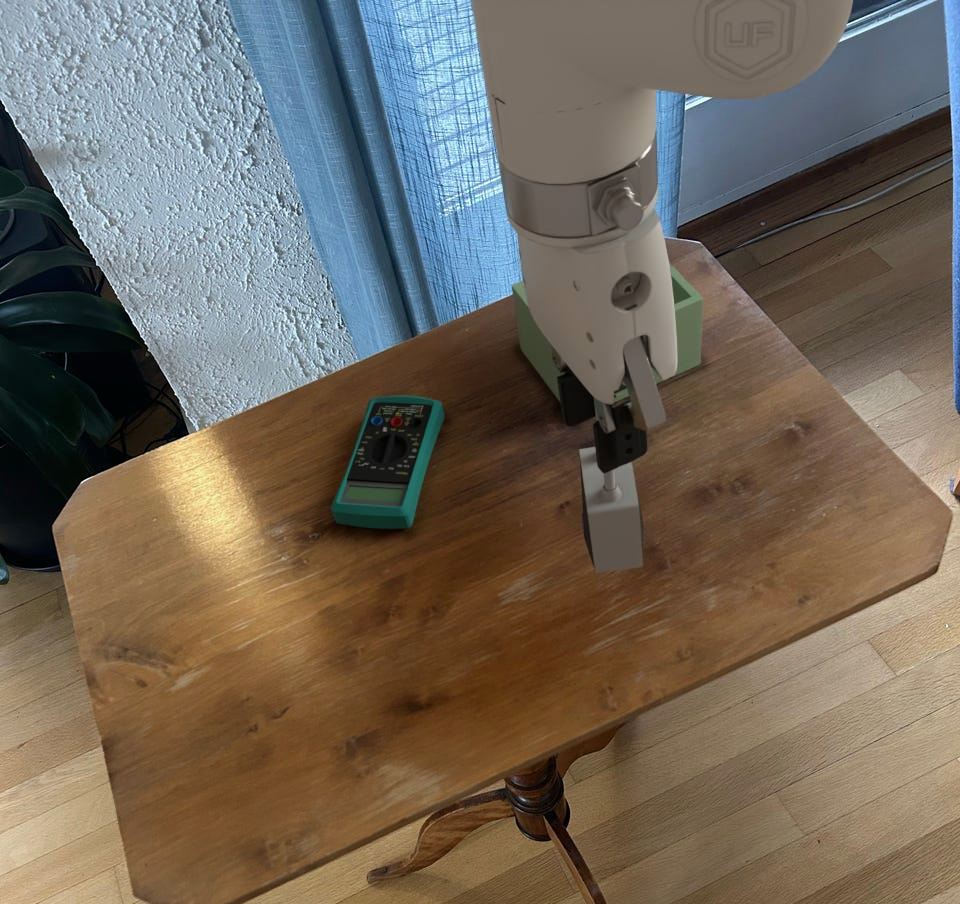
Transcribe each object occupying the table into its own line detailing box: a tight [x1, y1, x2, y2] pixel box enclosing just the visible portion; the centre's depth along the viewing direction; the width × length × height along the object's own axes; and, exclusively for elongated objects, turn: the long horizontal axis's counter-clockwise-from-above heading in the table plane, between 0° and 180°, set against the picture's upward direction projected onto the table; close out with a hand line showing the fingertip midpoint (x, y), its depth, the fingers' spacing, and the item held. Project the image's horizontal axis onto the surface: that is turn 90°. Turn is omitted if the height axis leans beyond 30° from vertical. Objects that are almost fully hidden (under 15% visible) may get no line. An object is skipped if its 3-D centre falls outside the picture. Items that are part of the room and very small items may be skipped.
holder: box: [511, 262, 704, 404], centre depth 97 cm, size 12×14×8 cm
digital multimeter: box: [330, 394, 445, 530], centre depth 95 cm, size 7×15×3 cm, turn 168°
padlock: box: [578, 399, 644, 574], centre depth 66 cm, size 7×4×15 cm, turn 3°
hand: (604, 436), depth 64 cm, fingers closed on padlock, 3 cm apart
